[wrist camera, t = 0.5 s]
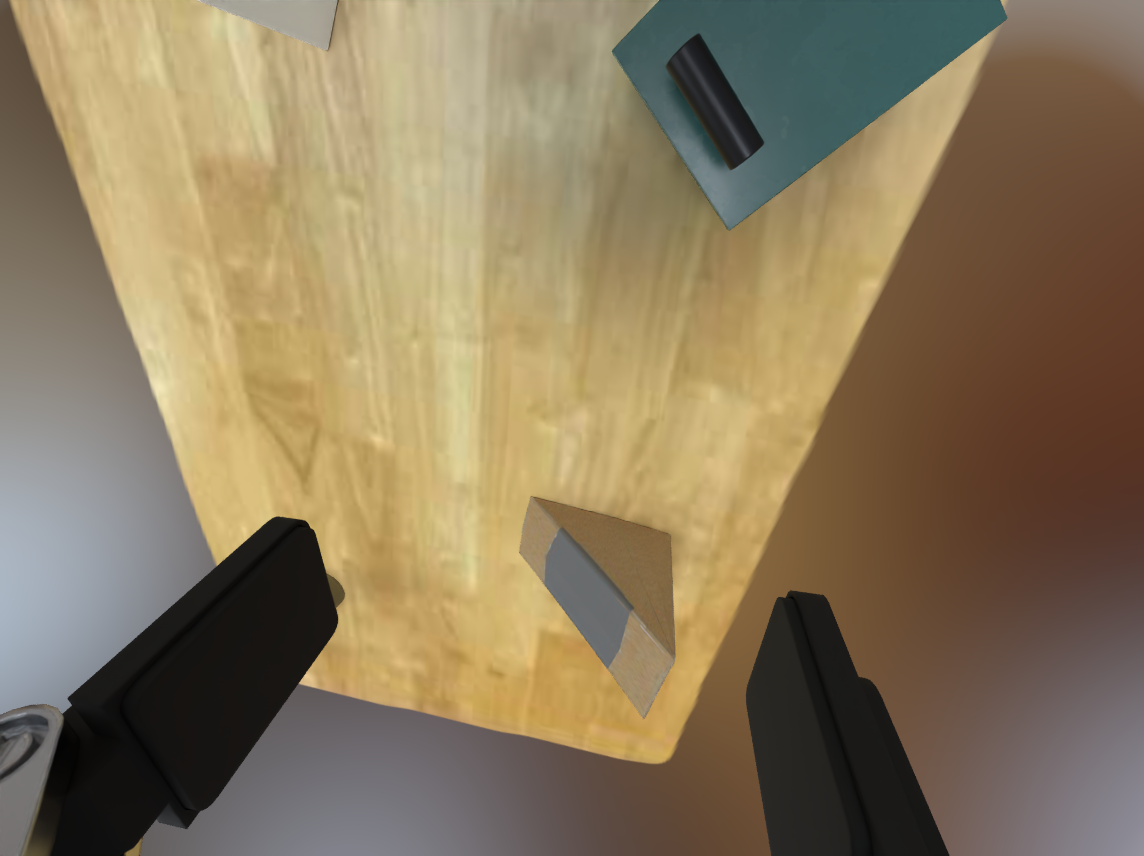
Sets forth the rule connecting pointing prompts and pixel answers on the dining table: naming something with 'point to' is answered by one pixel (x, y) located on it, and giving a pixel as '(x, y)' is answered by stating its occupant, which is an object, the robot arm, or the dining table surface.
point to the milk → (287, 17)
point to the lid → (784, 80)
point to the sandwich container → (609, 589)
